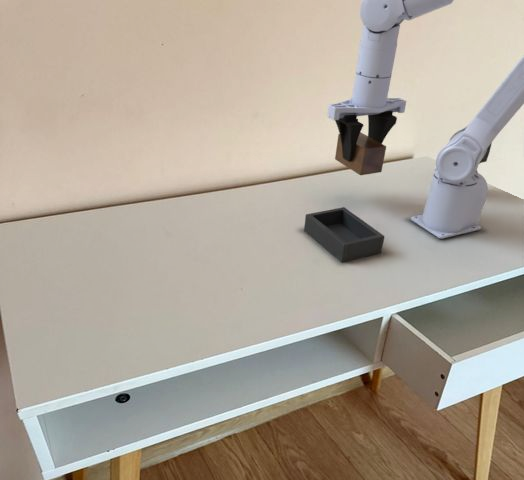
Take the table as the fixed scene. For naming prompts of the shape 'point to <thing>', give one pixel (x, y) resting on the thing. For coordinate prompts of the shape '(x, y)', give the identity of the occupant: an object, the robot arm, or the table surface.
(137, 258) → the table surface
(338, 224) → the dark gray rectangular tray
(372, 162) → the walnut block
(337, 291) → the table surface
